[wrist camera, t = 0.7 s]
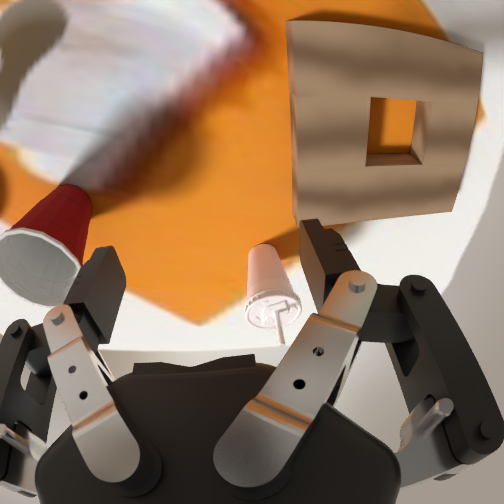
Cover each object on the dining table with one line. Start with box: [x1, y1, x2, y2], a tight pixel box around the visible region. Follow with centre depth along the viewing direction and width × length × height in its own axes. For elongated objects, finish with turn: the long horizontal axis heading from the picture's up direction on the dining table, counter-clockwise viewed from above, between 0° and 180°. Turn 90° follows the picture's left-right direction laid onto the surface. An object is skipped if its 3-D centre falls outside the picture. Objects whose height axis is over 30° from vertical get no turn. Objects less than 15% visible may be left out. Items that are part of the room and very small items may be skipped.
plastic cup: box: [0, 184, 92, 308], centre depth 27 cm, size 11×11×12 cm
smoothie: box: [244, 244, 302, 347], centre depth 35 cm, size 6×6×14 cm
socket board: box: [285, 21, 483, 229], centre depth 28 cm, size 22×22×3 cm
